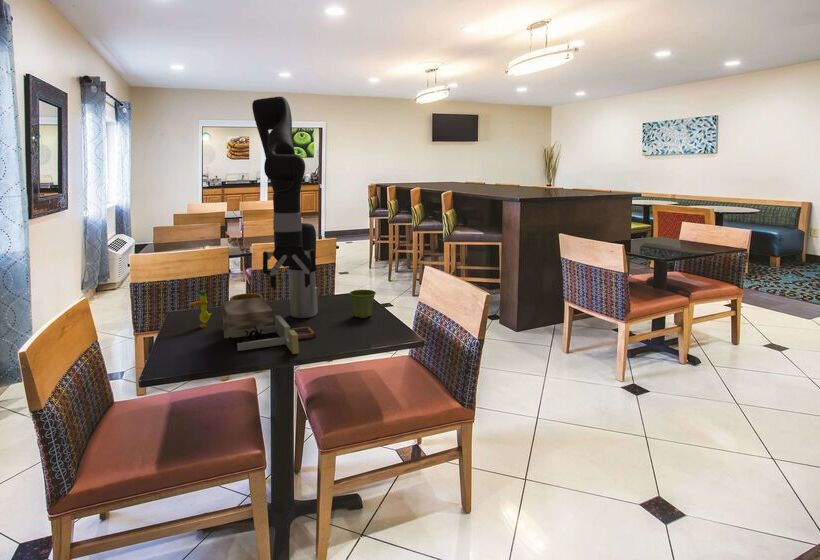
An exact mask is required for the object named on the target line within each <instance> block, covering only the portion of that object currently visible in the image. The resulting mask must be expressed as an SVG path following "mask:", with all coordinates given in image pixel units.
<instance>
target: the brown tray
mask: <svg viewBox="0 0 820 560" xmlns="http://www.w3.org/2000/svg"><path fill="white" fill-rule="evenodd" d="M290 330H294V331H295V332H296V333H297V334H298V341H301V340H307V339H315V338H316V333H315V331H314V330H313V329H312V328H311V327H310V326H301V327H295V328H290Z"/></svg>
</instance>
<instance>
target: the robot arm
mask: <svg viewBox="0 0 820 560" xmlns="http://www.w3.org/2000/svg"><path fill="white" fill-rule="evenodd" d="M251 107H252V114H253V117H254V121H255V125H256V129H257V132H258V135H259V138H260V142H261V145H262V147H263V148H262V149H263V153H264V156H265V159H264V164H263V165H264V166H263V167H264V168H263V169H264V173H265V176H266V177H267V178H268V179H269V180H270V184H271V189H272V192H273V195H272V205H273V217H272V219H273V220H272V222H273V223H272V225H273V245H274V247H273V248H274V250H273V251H266V250H264V251H263V253H262V273H263V274H265V275H268V276H270V277H269V278H270V279H269V281H270V287H271V288H272V289H273V290H277V280H276V279H277V278H276V273H277V272H278V270H280V268H281V267H284V268H287V267H288V280H289V302H290V303H289V304H290V306H289V307H290V316H291V317H292V318H297V319H306V318H313V317H315V316H317V314H318V313H319V307H318V305H319V304H318V303H319V302H318V288H317V286H316V284H317V280H316V271H317V264H316V260H317V232H316V231H317V230H316V228H315V226H314V225H313V224H312V223H307V222H303V223H302V215H301V202H300V201H301V190H302V189H301V188H302V184H303V182H304V181H303V180H304V176H305V171H306V163H305V160H304V159H303V157H302V155H299V154H295V153H296V150H295V147H294V143H293V119H292V113H291V107H290V104H289V102H288V100H287V99H286V98H285V97H284V96H272V97H265V98H258V99H254V100H253V102H252V106H251ZM272 257H274V259H275V260H276V262H275V264H274V265H273V267H272V268H271V269H268V268H269V267H268V265H269V264H268V263H269V262H268V261H270V260H271V259H272Z"/></svg>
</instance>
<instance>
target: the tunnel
mask: <svg viewBox="0 0 820 560" xmlns="http://www.w3.org/2000/svg"><path fill="white" fill-rule="evenodd" d="M221 311H222V323H223V324H222V325H223V327H222V328H223V338H224V339H230V338H229V337H231V338H232V335H231V331H234V330H242V329H250V328H255V327H256V328H258V327H265V324H268V323H274V311H273V309H272V308H271V307H270V306H269V304H268V303H267V302H266V301H265V300H264V299H263V297H262V298H252V299H242V300H232V301H230V300H224V301H221ZM254 325H255V327H254Z"/></svg>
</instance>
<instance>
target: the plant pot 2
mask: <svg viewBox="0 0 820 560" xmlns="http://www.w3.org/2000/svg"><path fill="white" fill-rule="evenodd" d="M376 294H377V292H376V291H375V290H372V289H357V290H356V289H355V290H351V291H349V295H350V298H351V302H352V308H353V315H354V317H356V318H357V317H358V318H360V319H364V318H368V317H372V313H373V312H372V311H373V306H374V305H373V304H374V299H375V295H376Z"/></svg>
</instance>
